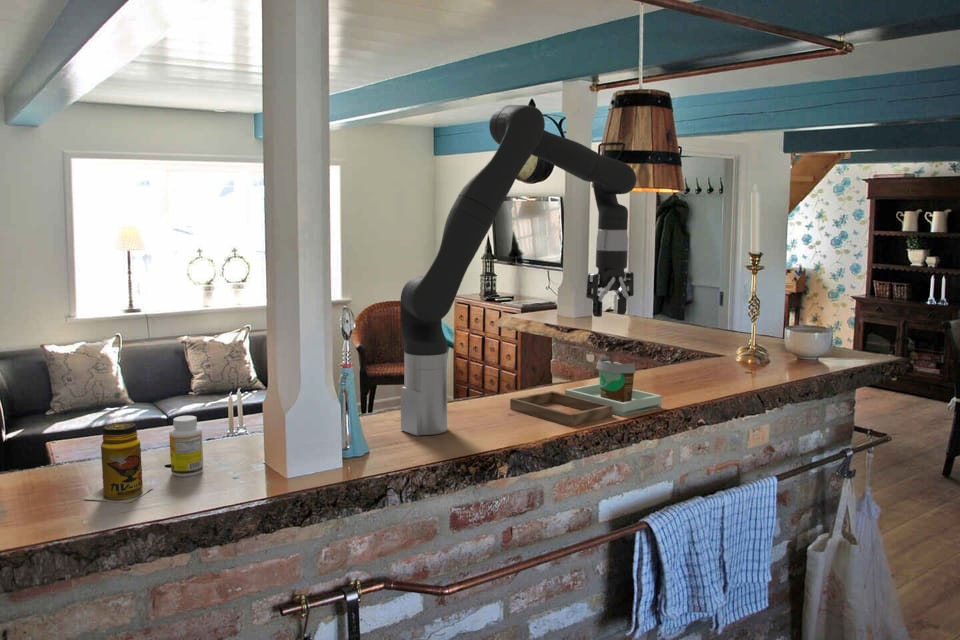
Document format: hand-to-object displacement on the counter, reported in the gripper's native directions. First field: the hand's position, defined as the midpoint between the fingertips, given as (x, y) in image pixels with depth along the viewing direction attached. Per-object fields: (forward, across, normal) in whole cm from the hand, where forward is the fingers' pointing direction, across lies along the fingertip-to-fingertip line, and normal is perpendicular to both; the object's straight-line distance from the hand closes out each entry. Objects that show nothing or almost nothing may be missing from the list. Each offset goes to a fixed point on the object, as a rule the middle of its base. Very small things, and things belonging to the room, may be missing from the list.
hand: (609, 315), depth 202 cm
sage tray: (+22, +1, -1) cm, 22 cm away
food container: (+21, 0, -1) cm, 21 cm away
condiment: (+24, -113, +6) cm, 116 cm away
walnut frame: (+22, -15, +1) cm, 27 cm away
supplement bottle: (+23, -100, +11) cm, 103 cm away
